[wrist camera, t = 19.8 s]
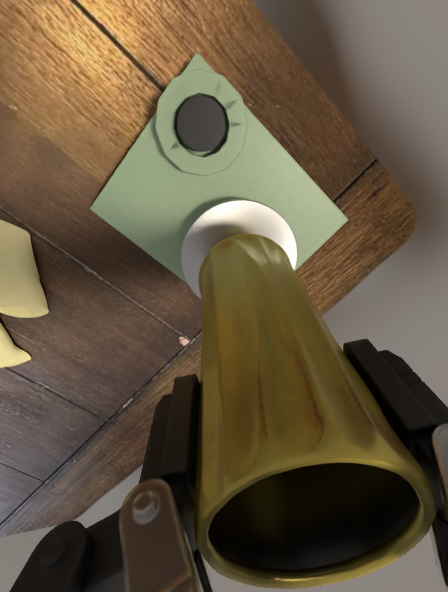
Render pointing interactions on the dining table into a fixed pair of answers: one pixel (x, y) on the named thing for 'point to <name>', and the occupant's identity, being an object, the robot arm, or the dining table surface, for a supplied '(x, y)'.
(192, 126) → the button
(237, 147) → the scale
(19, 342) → the dining table surface
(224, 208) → the weighing plate
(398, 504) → the vase
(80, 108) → the dining table surface
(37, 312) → the cloth
